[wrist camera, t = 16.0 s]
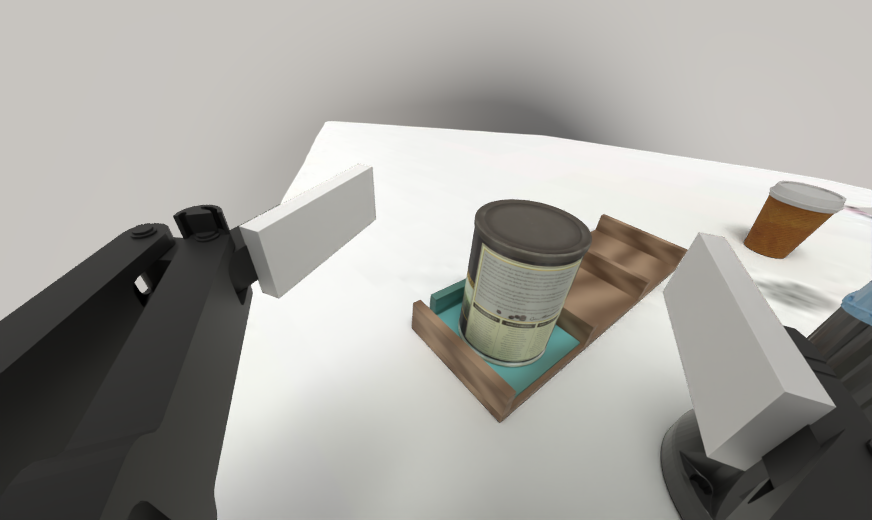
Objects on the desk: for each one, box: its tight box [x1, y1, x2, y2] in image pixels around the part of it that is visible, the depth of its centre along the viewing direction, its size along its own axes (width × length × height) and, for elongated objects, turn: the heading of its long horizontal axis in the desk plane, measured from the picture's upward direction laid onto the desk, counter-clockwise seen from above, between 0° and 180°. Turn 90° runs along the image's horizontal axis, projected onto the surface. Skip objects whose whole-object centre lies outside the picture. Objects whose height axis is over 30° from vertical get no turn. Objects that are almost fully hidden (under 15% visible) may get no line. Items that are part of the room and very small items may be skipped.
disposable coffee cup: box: [744, 181, 846, 258], centre depth 58 cm, size 10×10×12 cm
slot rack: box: [412, 214, 688, 423], centre depth 44 cm, size 14×43×4 cm, turn 128°
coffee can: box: [458, 199, 592, 367], centre depth 33 cm, size 10×10×14 cm
